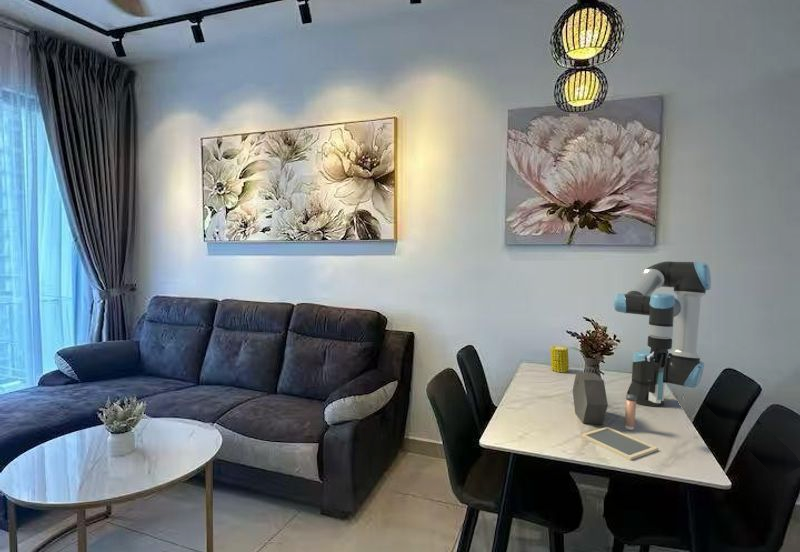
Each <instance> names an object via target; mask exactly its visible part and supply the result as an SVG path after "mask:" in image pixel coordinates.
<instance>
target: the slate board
mask: <svg viewBox="0 0 800 552" xmlns="http://www.w3.org/2000/svg"><path fill="white" fill-rule="evenodd" d="M579 437H580V438H582V439H584V440H586V441H589V442H590V443H592V444H595V445H597V446H599V447H601V448H604V449H605V450H608V451H610V452H612V453H614V454H615V455H618V456H619V457H622V458H625V459H627V460H629V461H632V460H635V459H639V458H641V457H643V456H646V455H649V454H652V453H654V452H657V451H659V448H658V447H656V446H654V445H652V444H649V443H647V442H644V441H642V440H640V439H637V438H635V437H633V436H630V435H628V434H626V433H623V432H621V431H618V430H617V429H614V428H612V427H609V426H605V427H601V428H598V429H594V430H592V431H588V432H583V433H581V434H580V436H579Z"/></svg>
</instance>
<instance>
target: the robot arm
mask: <svg viewBox="0 0 800 552" xmlns="http://www.w3.org/2000/svg"><path fill="white" fill-rule="evenodd" d="M711 285H712V278H711V271H710V267H709V265H708V264H707V263H705V262H698V261H697V262H696V261H661V262H660V261H659V262H658V263H655V264H652V265H650V266H648V267H646V268H645V269H644V270H643V271H642V272H641V273H640V277H639V279H638V280H637V281H636V282H635V284H634V285H633V286H632V288H630V290H628V292H627V293H617V294H616V295H615V296H614V301H613V306H614V310H615V311H616V312H618V313H624V314H632V315H640V316H641V315H642V316H649V318H648V327H647V328H648V333H647V334H648V337H647V343H646V344H647V347H649V348H650V349H648V350H647V349H642V350H641V349H640V350H636V351H634V353H633V356H632V361H631V362H632V364H631V365H632V366H631V367H632V369H631V381H630V385H629V387H628V390H627V391H626V395H627V394H631V395H635V396H637V400H636V405H637V404H638V405H642V406H647V407H662V406H664V405H665V385H666V384H671V385H677V386H682V387H683V388H686V387H687V388H697V387H698V386H699V385H700V383H701V380H702V377H703V372H704V370H705V369H704V368H705V363H704V362H703V361H702V360H701V356H700V355H699V354H698V353H697V347H698V346H697V345H698V335H699V322H700V312H701V310H700V309H701V301H702V300H701V298H702V297H704V296H705V295H706V292H707V291H709V290H711V288H712V287H711ZM659 288H672V289H673V293H674V294H675V295H676V297H675V295H674V294H669V293H658V292H657V293H654V292H655V291H656V290H657V289H659ZM674 318H675V319H674ZM672 338H673V339H672ZM669 350H670V351H669ZM660 366H661V367H664V372H663V387H662V399H661V403H657V397H658V384H657V379H658V373H659V367H660ZM654 402H656V403H654Z"/></svg>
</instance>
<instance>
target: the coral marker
mask: <svg viewBox="0 0 800 552" xmlns="http://www.w3.org/2000/svg"><path fill="white" fill-rule="evenodd" d="M625 397H626V398H625V400H626V401H625V415H624V425H625V426H624V428H625V429H626V430H628V431H634V430H635V426H636V411H637V403H636V400H637V396H635V395H631V394H627V393H626V394H625Z"/></svg>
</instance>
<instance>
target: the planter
mask: <svg viewBox="0 0 800 552" xmlns="http://www.w3.org/2000/svg"><path fill="white" fill-rule="evenodd" d="M572 387H573V388H572V399H573V406H574V414H575V415H576V416H577V419H579V420H580V422H581V423H582V424H591V425H592V424H593V425H594V424H595V425H604V421H605V417H606V414H607V409H608V398H607V392H606V386H605V380H604V379H603V378H601V376H599V375H598V374H597V373H595V372H581V371H580V372H579V371H576V373H575V376H574V382H573V385H572Z"/></svg>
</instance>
